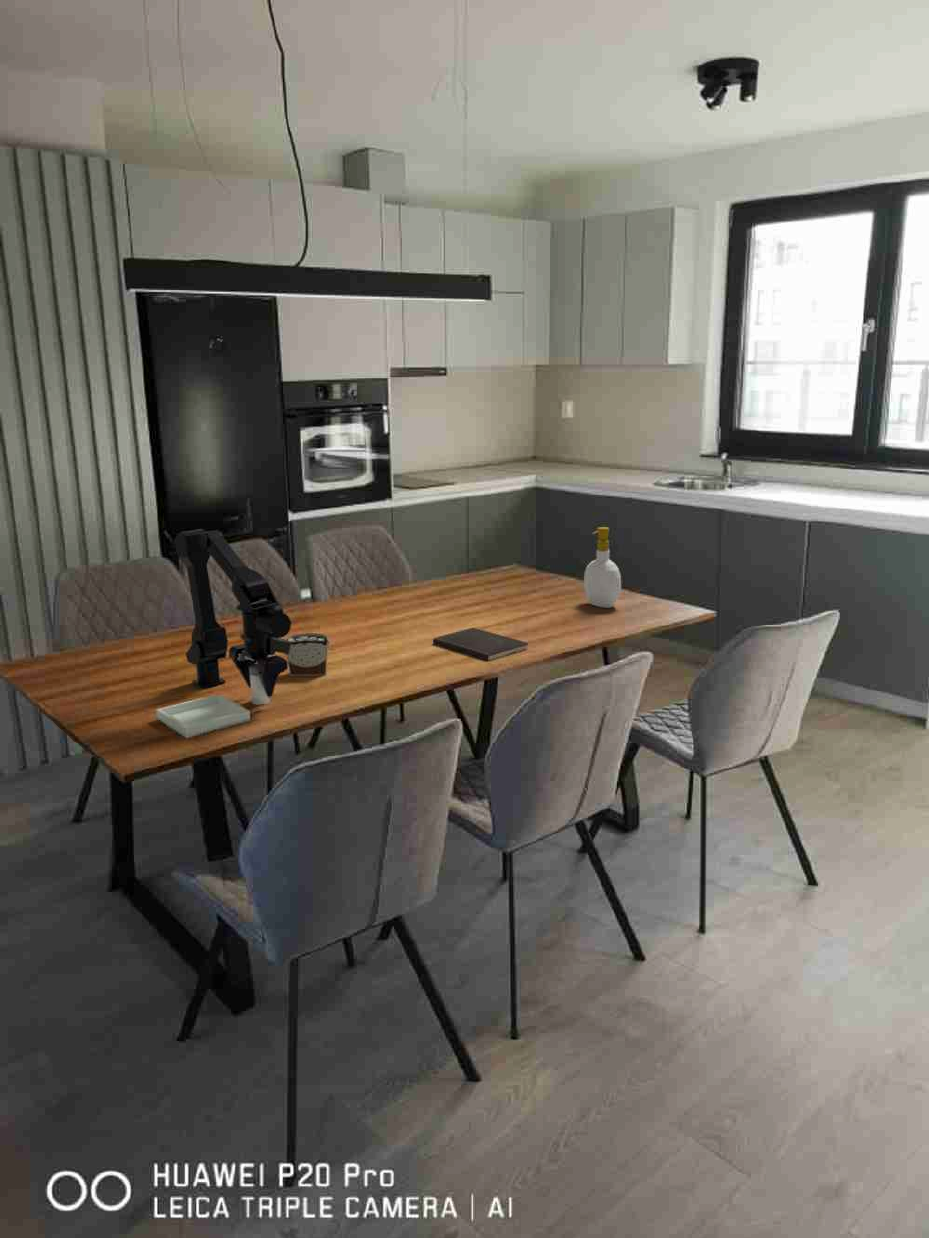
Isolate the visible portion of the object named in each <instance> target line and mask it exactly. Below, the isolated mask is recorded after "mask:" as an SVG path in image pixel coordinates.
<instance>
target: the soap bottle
mask: <svg viewBox="0 0 929 1238" xmlns="http://www.w3.org/2000/svg"><path fill="white" fill-rule="evenodd" d="M609 532H610V527H607V526H600V527H597V530H595V531H594V532H592V535H596V534H598V539H599V540H597V550H596V559H594V560H592V561H590V562H589V564H587V566H586V568H585V571H584V576H583V577H584V578H583V582H584V583H583V584H584V591H585V594H586V598H587V601H588V603H589V604H590V605H592V606H594V607H598V608H603V609H611V608H613V607H615V606H616V605H617V602H618V600H619V598H620V595H621V588H622V578H621V577H622V575H621V573H620V569H619V567H618V566H617V565H616V563H615V562H613V560H611V559H610V548H609V546H610V545H609V543H610V542H609V539H608V538H609ZM607 539H608V540H607Z"/></svg>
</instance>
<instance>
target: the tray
mask: <svg viewBox="0 0 929 1238" xmlns="http://www.w3.org/2000/svg"><path fill="white" fill-rule="evenodd" d="M156 719H158V720H157V721H159V720H160V721H161V723H162V722H163V723H164V725H165V724H166V725H165V726H167V728H170V729H171V730H173V731H174V730H175V731H174V732H176V733H177V732H178V733H177V734H179V735H180V734H181V735H180V736H182V737H183V738H185V737H186V738H185V739H190V738H193V736H194V737H196V735H197V736H201V735H204V734H203V733H205V734H207V732H208V733H211V732H210V731H212V732H214V731H213V730H216V731H218V730H222V729H226V728H229V727H233V725H234V726H237V725H241V724H244V723H248V722H250V721H251V713H250V710H249V709H247V708H245V707H244V706H241V705H240V704H238V703H236V702H235V701H232V700H231V699H229V698H227V697H226V696H223V695H221V694H219V693H217V694H213V695H210V696H205V697H200V698H197V699H193V700H189V701H185V702H180V703H177V704H172V705H169V706H165V707H161V708H156ZM160 721H159V722H160ZM163 723H162V724H163ZM200 734H201V735H200ZM189 737H190V738H189Z"/></svg>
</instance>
